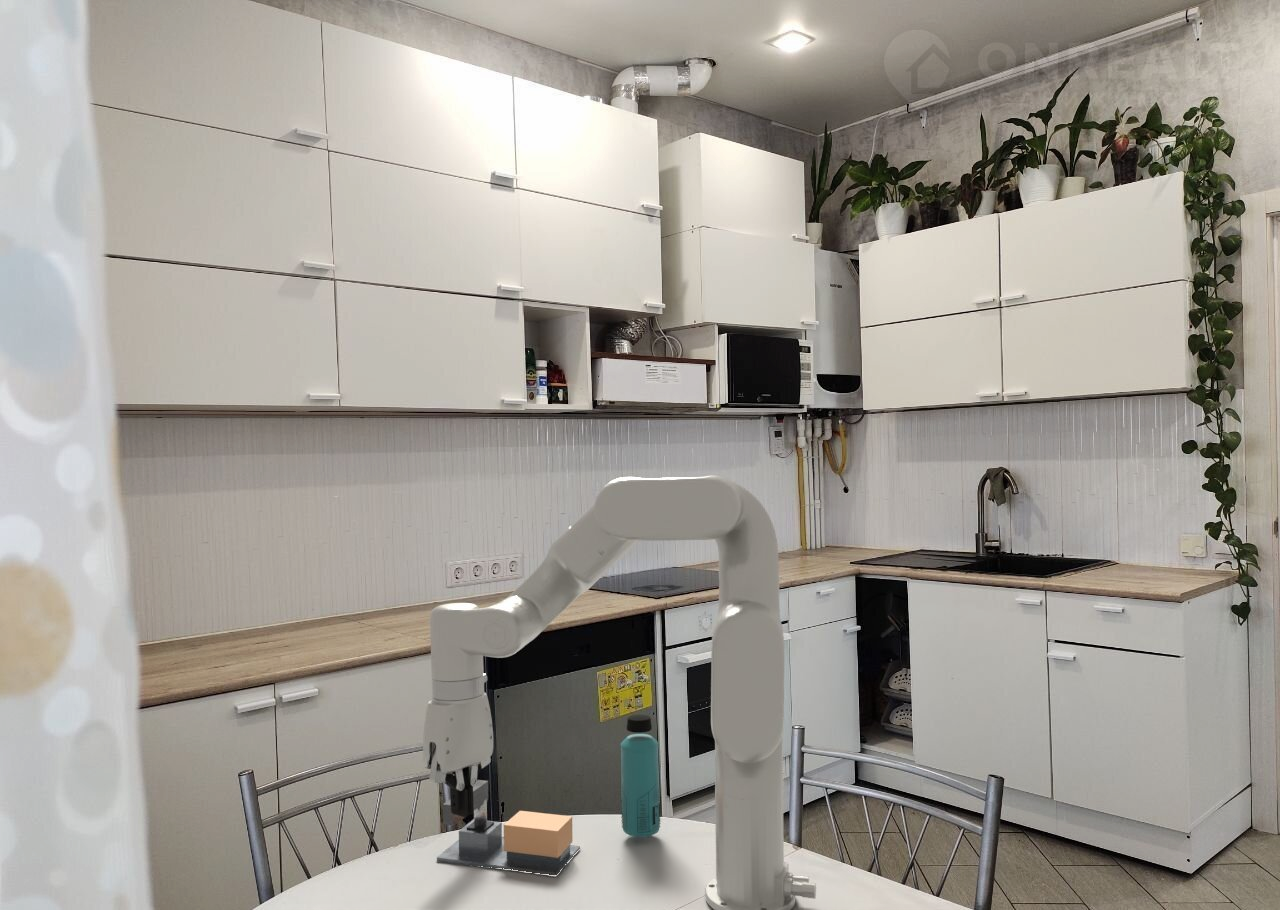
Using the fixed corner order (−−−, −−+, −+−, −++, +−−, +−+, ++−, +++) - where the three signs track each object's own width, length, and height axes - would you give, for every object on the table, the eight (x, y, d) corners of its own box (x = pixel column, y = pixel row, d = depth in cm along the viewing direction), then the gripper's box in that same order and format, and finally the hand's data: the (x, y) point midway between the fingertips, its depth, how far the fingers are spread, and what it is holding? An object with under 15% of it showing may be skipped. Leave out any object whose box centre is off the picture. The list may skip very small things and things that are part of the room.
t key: (454, 849, 135) (454, 805, 135) (442, 848, 135) (442, 804, 136) (489, 821, 145) (488, 781, 145) (477, 820, 146) (477, 779, 146)
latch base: (580, 849, 145) (579, 822, 145) (556, 877, 135) (555, 848, 136) (467, 836, 151) (467, 810, 151) (436, 861, 141) (436, 833, 141)
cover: (572, 841, 143) (572, 816, 143) (558, 857, 138) (557, 831, 138) (520, 835, 146) (519, 810, 146) (503, 850, 140) (503, 824, 140)
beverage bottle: (657, 847, 145) (655, 722, 146) (616, 844, 147) (615, 720, 147) (664, 831, 152) (662, 711, 152) (625, 829, 153) (624, 710, 153)
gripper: (479, 675, 142) (483, 793, 142) (400, 696, 130) (404, 825, 130) (512, 680, 137) (517, 802, 137) (434, 703, 126) (438, 836, 125)
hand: (462, 813), depth 134 cm, fingers closed
